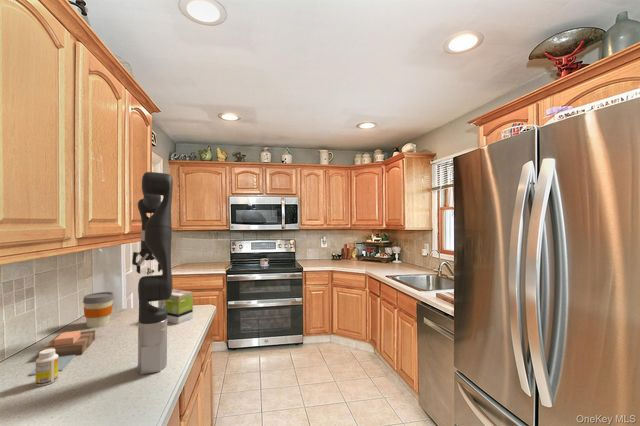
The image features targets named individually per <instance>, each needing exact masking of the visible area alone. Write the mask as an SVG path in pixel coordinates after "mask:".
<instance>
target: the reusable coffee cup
mask: <svg viewBox="0 0 640 426" xmlns="http://www.w3.org/2000/svg"><path fill="white" fill-rule="evenodd" d="M114 298H115V297H114V292H111V291H103V292H95V293H89V294H86V295H84V296H83V299H82V300H83V301H82V303H83V305H84V306H83V312H84V313H83V314H84V317H85V321H86V327H87V328H89V329H90V328H91V329H95V328H100V327H105V326H107V325H108V324H109V323H110V319H111V314H112V311H113V307H114V306H113V305H114V303H113V300H114Z"/></svg>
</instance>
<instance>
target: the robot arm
mask: <svg viewBox="0 0 640 426" xmlns="http://www.w3.org/2000/svg"><path fill="white" fill-rule="evenodd" d="M173 180H174V179H173V177H172V174H169V173H164V172H163V173H162V172H155V171H147V172H145V173H143V174H142V178H141V190H142V195H143V198H141V199H139V200H138V202H137V209H138V212H139V215H140V220H141V233H140V251H139V252H138V251H137V252H136V251H133V252H132V261H131V264H132V265H134V266H136V269H135V270H136V271H135V272H136V273H138V274H141V264H142V263H144V261H154V260H155V261H156V262H157V272H158V273H160V272H161V271H162V274H158V275H146V276H145V275H144V276H141V277H140V278H139V280H138V284H137V286H138V287H137V295H138V296H137V299H138V327H137V328H138V329H137V330H138V331H137V372H138V373H140V375H147V374H151V373H152V374H153V373H159V372H161V371H162V370H163V369H165V368H166V366H167V363H168V361H167V360H168V354H167V353H168V349H167V348H168V322H167V311H166V310H165V309H163V308H158V306H155V305H152V304H151V303H150V302H158V301H160V300H168V299H169V298H170V297H171V294H172V289H173V279H172V278H173V277H172V275H173V274H172V273H173V272H172V238H173V237H172V234H173V233H172V232H173V230H172V229H173V228H172V226H173V225H172V201H173V200H172V199H173V189H174V188H173V185H174V184H173V183H174V181H173ZM162 197H163V198H162ZM147 214H151V215H150V217H149V216H148V215H147ZM139 256H140V259H139V260H138V261H137V258H138V257H139Z"/></svg>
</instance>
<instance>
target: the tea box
mask: <svg viewBox="0 0 640 426" xmlns="http://www.w3.org/2000/svg"><path fill="white" fill-rule="evenodd" d="M157 302H158V306H157V307H158V308H163V309H165V310H166V311H167V323H172V324H176V325H179V324H182V323H184V322H187V321H190V320H192V319H193V312H194V310H193V309H194V307H193V306H194V305H193V304H194V292H193V291H189V290H188V291H187V290H182V289H176V288H174V289H173V288H172V294H171V297H170V298H169V299H168V300H160V301H157Z"/></svg>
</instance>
